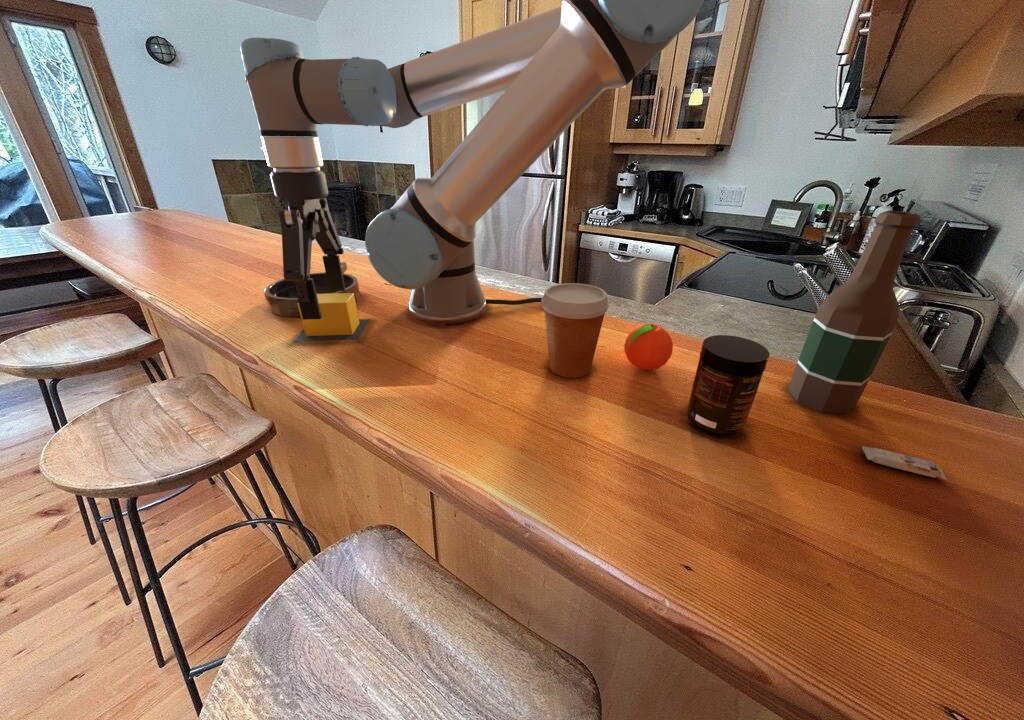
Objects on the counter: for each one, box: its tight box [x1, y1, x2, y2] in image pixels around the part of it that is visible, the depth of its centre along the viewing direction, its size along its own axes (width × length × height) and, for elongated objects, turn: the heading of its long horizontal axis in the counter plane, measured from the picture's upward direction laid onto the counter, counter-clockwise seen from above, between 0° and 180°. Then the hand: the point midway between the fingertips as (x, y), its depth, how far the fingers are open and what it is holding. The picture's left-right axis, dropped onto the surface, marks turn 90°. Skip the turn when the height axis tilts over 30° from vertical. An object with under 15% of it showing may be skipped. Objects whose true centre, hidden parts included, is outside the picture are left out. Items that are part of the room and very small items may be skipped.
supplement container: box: [685, 334, 770, 439], centre depth 48 cm, size 7×7×10 cm
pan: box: [263, 271, 361, 318], centre depth 86 cm, size 18×18×4 cm
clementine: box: [623, 323, 674, 371], centre depth 61 cm, size 8×7×7 cm
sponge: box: [298, 293, 360, 336], centre depth 73 cm, size 8×5×6 cm, turn 94°
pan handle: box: [324, 261, 348, 273], centre depth 98 cm, size 3×11×2 cm, turn 4°
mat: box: [292, 318, 371, 343], centre depth 74 cm, size 11×9×1 cm
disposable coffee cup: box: [540, 282, 610, 379], centre depth 60 cm, size 10×10×12 cm
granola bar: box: [861, 445, 948, 481], centre depth 44 cm, size 7×2×1 cm, turn 63°
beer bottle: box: [788, 210, 921, 415], centre depth 50 cm, size 8×8×24 cm
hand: (326, 303), depth 72 cm, fingers open, 13 cm apart
